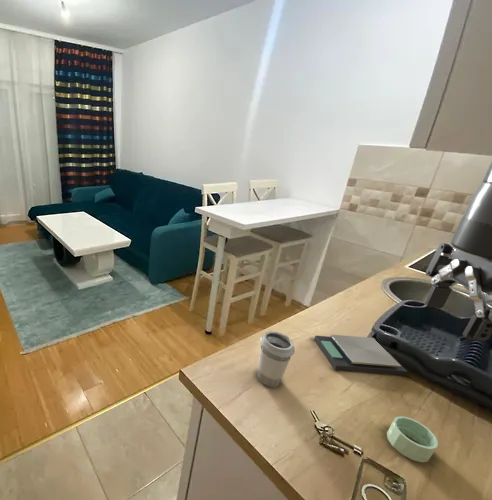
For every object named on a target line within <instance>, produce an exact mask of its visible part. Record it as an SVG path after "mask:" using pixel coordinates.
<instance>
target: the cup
mask: <svg viewBox="0 0 492 500" xmlns="http://www.w3.org/2000/svg"><path fill="white" fill-rule="evenodd" d="M259 342H260V350H259V356H258V357H259V358H258V363H257V378H258V380H259V382H260V383H262V384H263V385H264V386H267V387H269V388H275V387H278V386H280V383H281V380H282V379H283V377H284V374H285V371H286V370H287V367H288V365H289V362H290V360H291V357H292V356H293V355H295V352H296V350H295V346H294V342H293V340H292V339H291V338H290V337H289V336H288V335H286V334H284V333H283V332H278V331H271V330H269V331H267V332H265V333H264V334H263V335H261V337H260V339H259Z"/></svg>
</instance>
